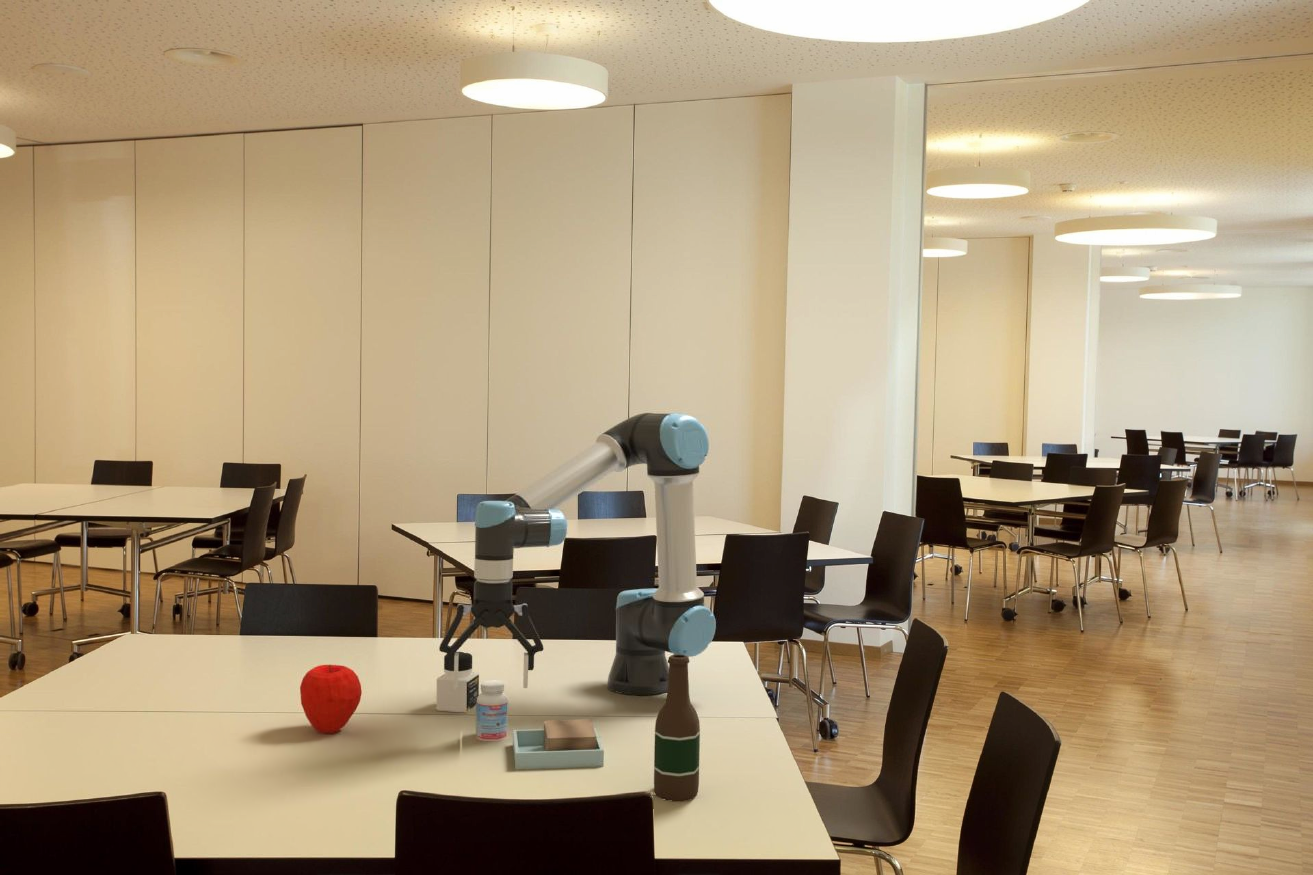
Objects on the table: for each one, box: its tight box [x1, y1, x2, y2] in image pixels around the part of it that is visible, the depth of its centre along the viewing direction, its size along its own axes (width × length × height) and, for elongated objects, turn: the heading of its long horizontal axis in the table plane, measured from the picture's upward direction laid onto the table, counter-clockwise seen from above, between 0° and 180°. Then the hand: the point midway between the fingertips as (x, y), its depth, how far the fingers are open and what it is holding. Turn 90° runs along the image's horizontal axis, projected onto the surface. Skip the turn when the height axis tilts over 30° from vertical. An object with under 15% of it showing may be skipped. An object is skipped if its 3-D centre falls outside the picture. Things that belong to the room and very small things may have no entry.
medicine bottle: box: [435, 650, 480, 714], centre depth 240 cm, size 7×7×12 cm
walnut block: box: [543, 718, 597, 751], centre depth 208 cm, size 9×11×5 cm
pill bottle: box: [475, 679, 508, 742], centre depth 218 cm, size 6×6×11 cm
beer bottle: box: [653, 654, 701, 802], centre depth 189 cm, size 8×8×24 cm
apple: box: [299, 664, 363, 735], centre depth 222 cm, size 12×12×13 cm
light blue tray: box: [512, 727, 605, 770], centre depth 207 cm, size 16×14×4 cm
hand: (490, 686), depth 218 cm, fingers open, 13 cm apart
